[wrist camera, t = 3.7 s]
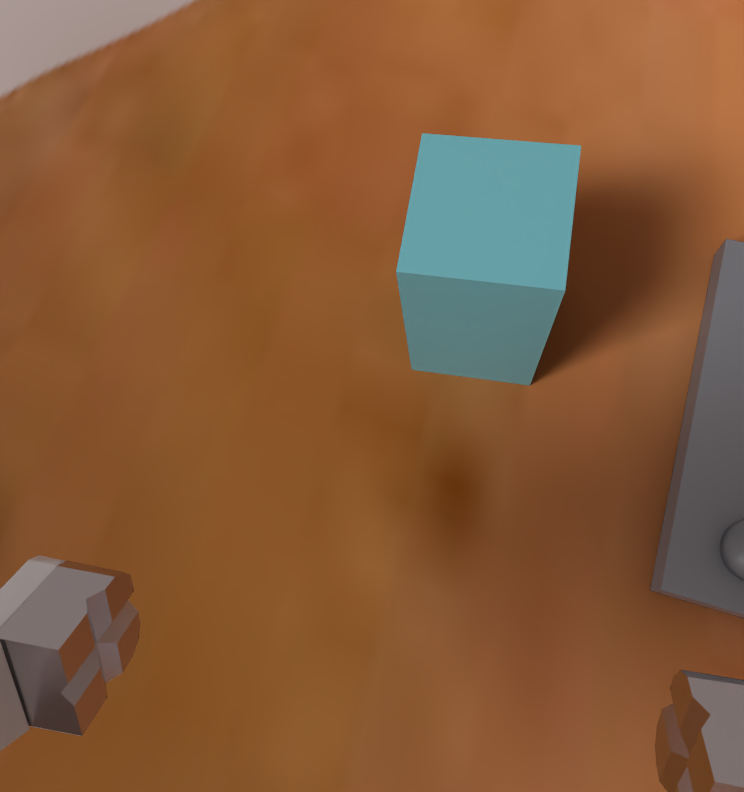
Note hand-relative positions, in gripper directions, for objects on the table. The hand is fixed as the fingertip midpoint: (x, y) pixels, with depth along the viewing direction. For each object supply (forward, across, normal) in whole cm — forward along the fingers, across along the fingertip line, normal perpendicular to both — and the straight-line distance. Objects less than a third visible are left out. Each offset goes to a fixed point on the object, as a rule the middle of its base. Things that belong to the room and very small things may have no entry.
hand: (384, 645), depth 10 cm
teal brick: (+18, 0, +2) cm, 18 cm away
